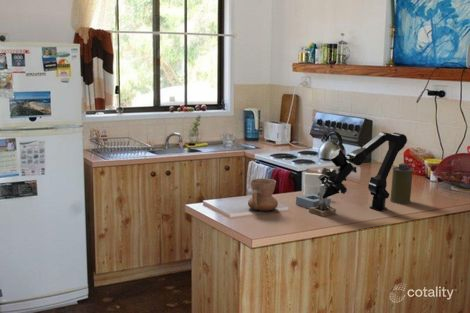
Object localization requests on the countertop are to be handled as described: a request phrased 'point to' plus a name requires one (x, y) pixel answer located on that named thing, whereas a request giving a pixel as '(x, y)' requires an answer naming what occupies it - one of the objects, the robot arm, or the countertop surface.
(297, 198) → the slate-blue hub block
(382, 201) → the robot arm
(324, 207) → the cylinder
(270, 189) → the ceramic jug
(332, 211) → the square wooden frame
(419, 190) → the countertop surface
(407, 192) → the canister
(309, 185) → the off-white rectangular block
